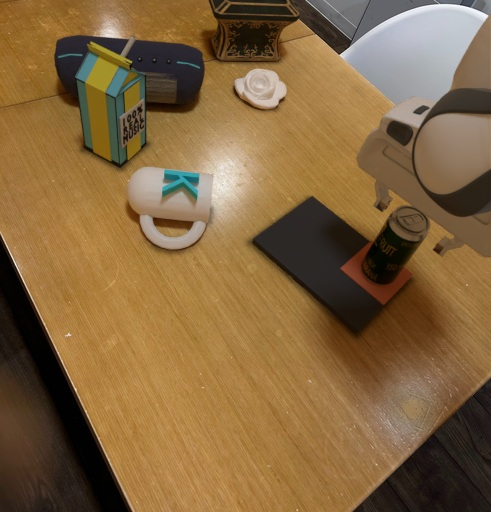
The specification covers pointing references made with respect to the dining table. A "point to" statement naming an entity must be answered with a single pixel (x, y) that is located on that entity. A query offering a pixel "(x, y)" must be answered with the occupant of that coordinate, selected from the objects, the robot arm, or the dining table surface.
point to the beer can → (395, 245)
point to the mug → (171, 202)
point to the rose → (261, 88)
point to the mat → (328, 262)
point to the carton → (111, 104)
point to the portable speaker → (139, 65)
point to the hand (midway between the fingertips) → (409, 228)
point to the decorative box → (250, 28)
